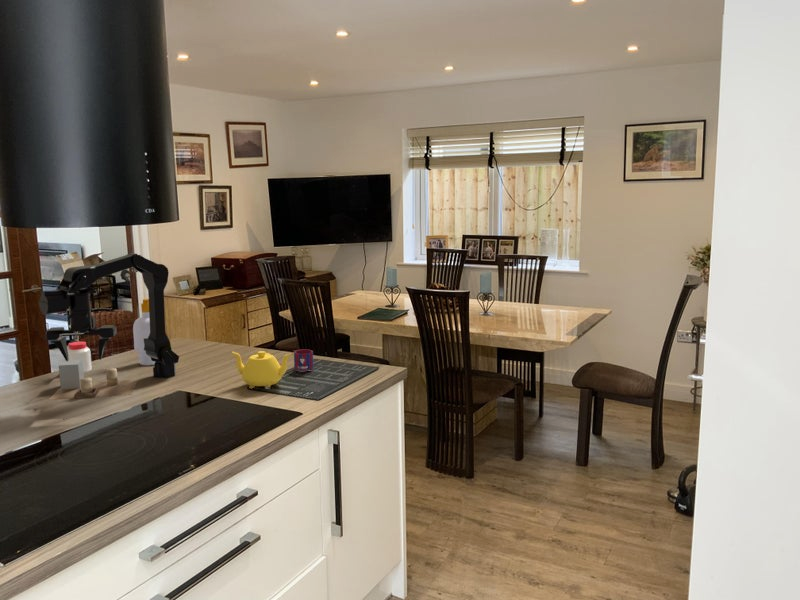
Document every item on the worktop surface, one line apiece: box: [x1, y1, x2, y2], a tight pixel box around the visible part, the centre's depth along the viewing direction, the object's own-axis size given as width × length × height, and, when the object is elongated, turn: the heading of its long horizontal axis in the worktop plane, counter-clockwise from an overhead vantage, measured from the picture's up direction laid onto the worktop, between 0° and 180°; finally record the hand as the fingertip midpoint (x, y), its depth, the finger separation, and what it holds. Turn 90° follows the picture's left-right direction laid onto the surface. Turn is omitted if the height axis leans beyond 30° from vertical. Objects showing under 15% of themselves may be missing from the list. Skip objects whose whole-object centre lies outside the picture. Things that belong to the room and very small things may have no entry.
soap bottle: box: [132, 298, 155, 367], centre depth 235 cm, size 10×10×24 cm
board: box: [48, 379, 140, 401], centre depth 201 cm, size 23×16×3 cm
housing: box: [58, 360, 85, 389], centre depth 203 cm, size 6×6×8 cm
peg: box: [105, 367, 119, 386], centre depth 206 cm, size 3×3×5 cm
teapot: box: [231, 350, 292, 388], centre depth 211 cm, size 20×15×12 cm
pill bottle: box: [67, 341, 93, 373], centre depth 222 cm, size 8×8×11 cm
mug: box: [293, 348, 314, 371], centre depth 230 cm, size 7×10×7 cm
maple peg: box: [80, 377, 93, 394], centre depth 195 cm, size 3×3×5 cm
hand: (84, 360), depth 194 cm, fingers open, 9 cm apart
